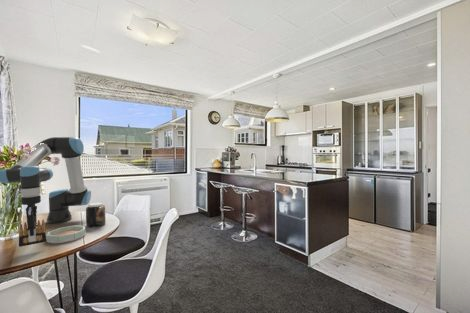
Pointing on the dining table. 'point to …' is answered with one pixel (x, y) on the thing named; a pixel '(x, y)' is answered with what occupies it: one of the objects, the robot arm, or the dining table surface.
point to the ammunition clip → (25, 238)
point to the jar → (95, 215)
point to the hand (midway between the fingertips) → (32, 240)
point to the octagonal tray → (66, 234)
